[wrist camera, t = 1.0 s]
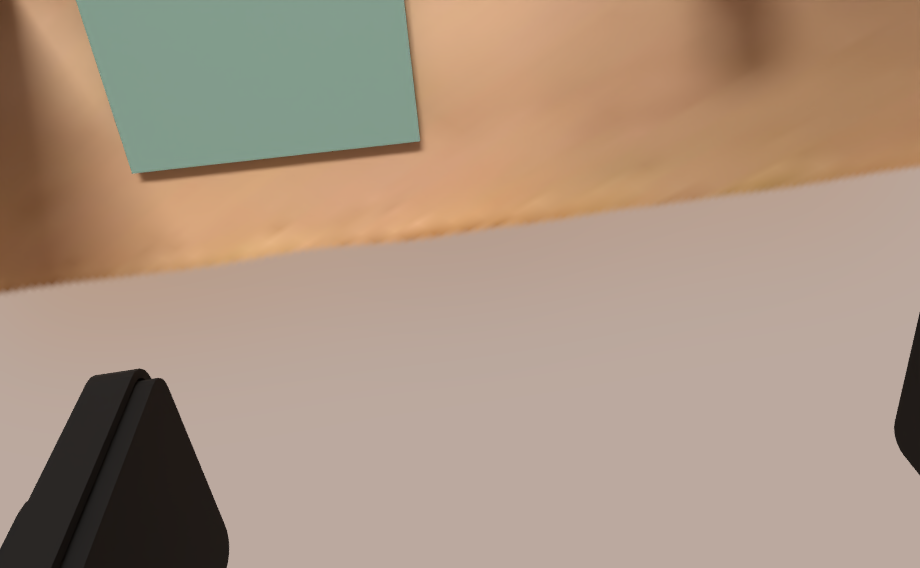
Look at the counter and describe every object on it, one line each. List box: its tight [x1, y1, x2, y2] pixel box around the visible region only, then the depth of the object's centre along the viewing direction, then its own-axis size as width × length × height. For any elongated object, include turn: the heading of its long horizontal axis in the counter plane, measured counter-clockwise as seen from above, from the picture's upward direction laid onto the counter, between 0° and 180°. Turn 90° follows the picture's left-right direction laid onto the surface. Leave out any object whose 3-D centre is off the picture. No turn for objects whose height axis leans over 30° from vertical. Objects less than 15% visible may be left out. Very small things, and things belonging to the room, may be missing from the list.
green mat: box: [76, 0, 420, 174], centre depth 35 cm, size 14×14×1 cm
